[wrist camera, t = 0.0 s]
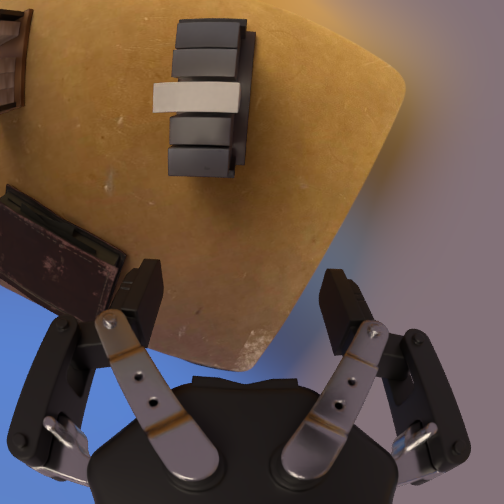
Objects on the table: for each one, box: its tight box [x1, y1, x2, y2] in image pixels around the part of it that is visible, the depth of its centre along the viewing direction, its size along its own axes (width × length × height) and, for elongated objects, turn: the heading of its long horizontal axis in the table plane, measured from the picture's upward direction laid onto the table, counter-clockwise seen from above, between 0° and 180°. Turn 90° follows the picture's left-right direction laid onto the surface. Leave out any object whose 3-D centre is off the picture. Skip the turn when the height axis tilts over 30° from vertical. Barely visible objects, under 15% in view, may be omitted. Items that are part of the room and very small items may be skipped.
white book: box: [153, 82, 241, 113], centre depth 22 cm, size 2×6×12 cm, turn 85°
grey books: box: [168, 18, 256, 178], centre depth 23 cm, size 16×8×10 cm, turn 175°
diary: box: [0, 184, 126, 323], centre depth 36 cm, size 19×25×5 cm
